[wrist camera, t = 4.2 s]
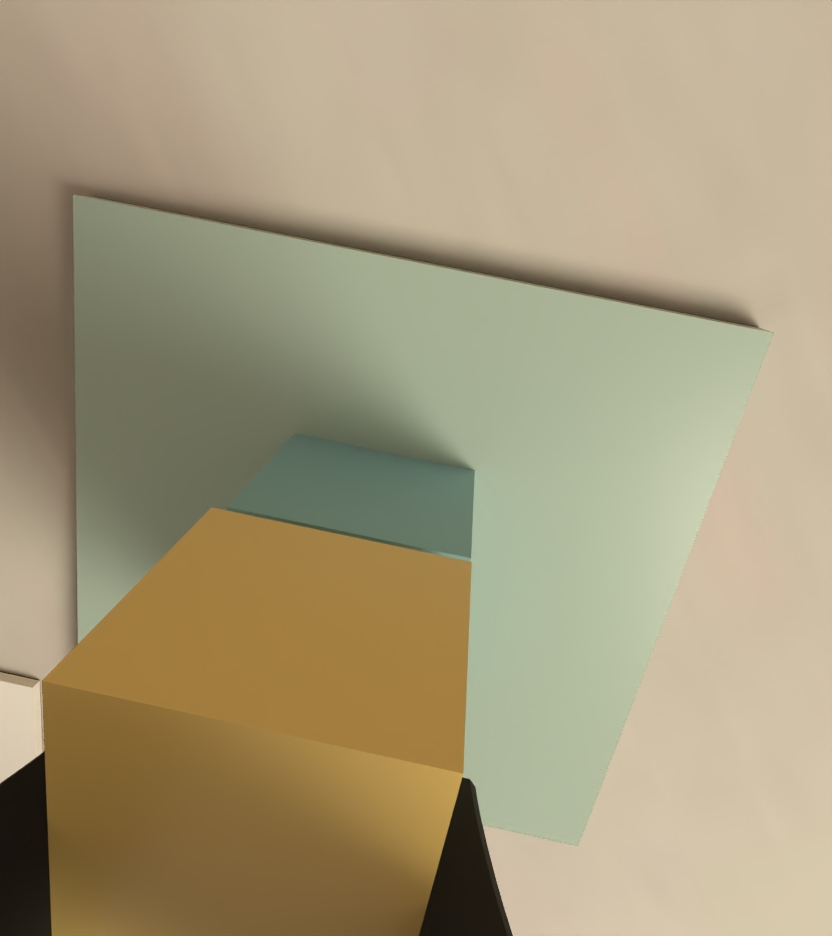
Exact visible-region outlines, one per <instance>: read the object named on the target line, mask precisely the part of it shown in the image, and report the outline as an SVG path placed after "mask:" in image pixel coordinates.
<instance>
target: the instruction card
mask: <svg viewBox="0 0 832 936" xmlns="http://www.w3.org/2000/svg"><path fill="white" fill-rule="evenodd" d="M41 753H42V732H41V706H40V681H38V680H34V679H29V678H25V677H20V676H16V675H11V674H7V673H2V672H0V783H1V782H3V781H4V780H5V779H7V778H8V777H10V776H11V775H13V774H14V773H15V772H17V771H18V770H19V769H21V768H22V767H24V766H25V765H26V764H28V763H29V762H30V761H32V760H33V759H35V758H36V757H37V756H39V755H40V754H41Z"/></svg>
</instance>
